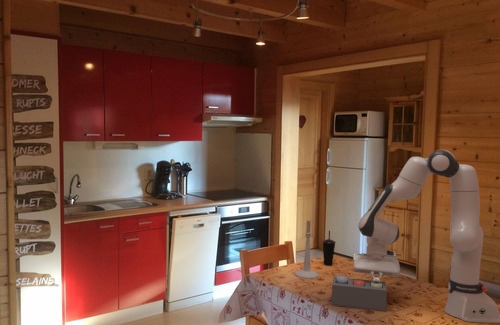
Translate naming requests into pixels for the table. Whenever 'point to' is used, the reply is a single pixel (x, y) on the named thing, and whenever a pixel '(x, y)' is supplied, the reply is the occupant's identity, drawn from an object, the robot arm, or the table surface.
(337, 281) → the blue button
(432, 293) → the table surface
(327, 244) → the drinking cup
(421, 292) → the table surface
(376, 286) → the green button
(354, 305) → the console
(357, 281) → the red button
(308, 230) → the candlestick
